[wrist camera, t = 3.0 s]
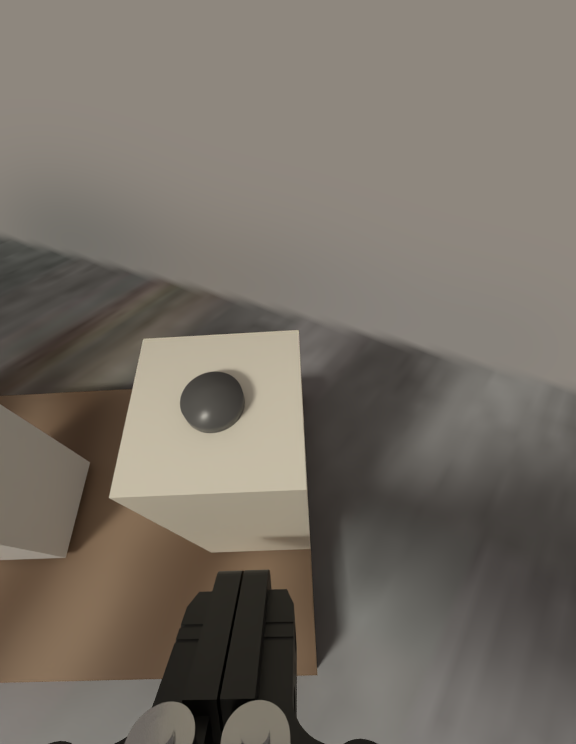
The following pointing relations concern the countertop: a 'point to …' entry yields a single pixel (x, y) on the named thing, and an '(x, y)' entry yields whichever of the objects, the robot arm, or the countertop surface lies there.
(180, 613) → the brown wooden board
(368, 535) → the countertop surface
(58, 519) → the three dot key
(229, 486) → the one dot key
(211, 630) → the robot arm
